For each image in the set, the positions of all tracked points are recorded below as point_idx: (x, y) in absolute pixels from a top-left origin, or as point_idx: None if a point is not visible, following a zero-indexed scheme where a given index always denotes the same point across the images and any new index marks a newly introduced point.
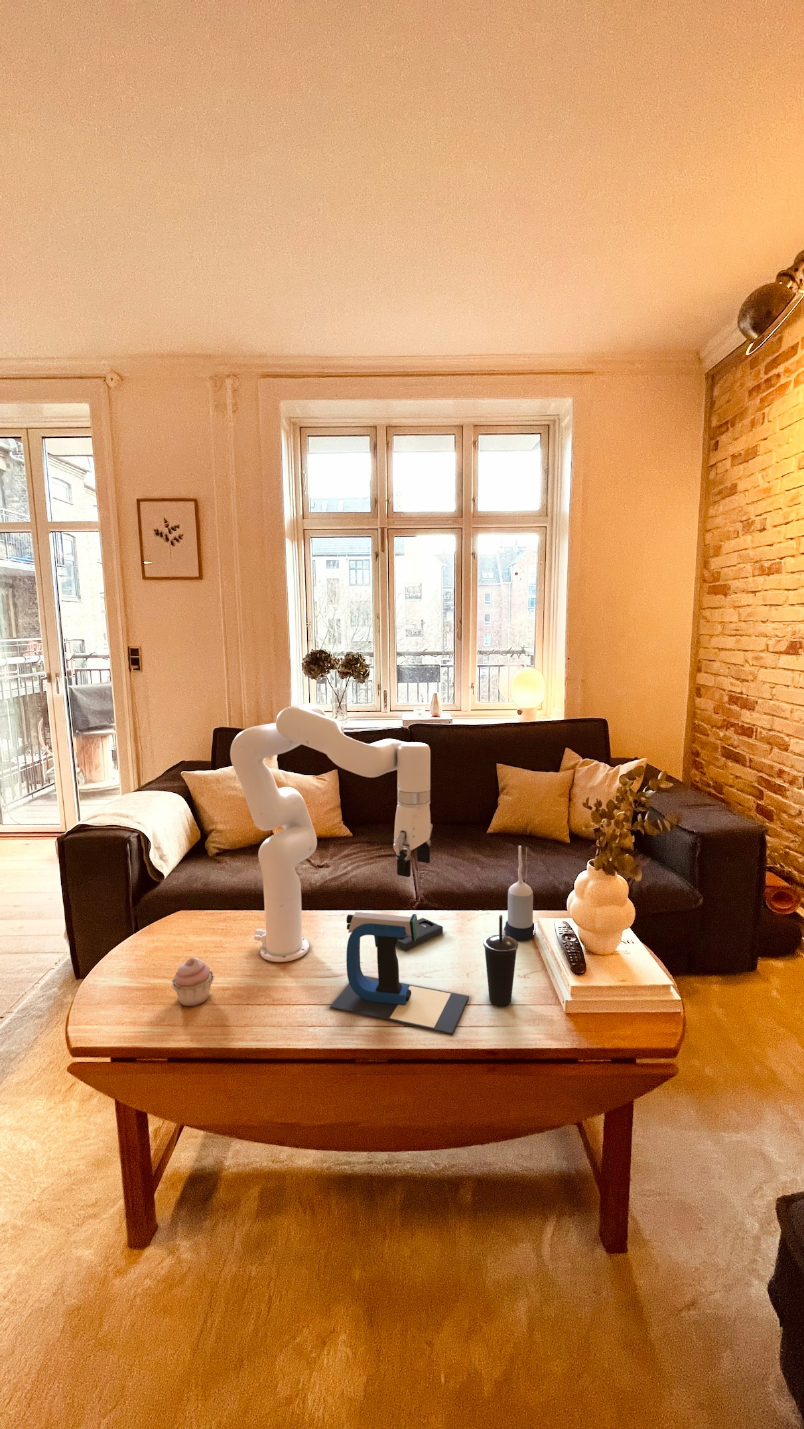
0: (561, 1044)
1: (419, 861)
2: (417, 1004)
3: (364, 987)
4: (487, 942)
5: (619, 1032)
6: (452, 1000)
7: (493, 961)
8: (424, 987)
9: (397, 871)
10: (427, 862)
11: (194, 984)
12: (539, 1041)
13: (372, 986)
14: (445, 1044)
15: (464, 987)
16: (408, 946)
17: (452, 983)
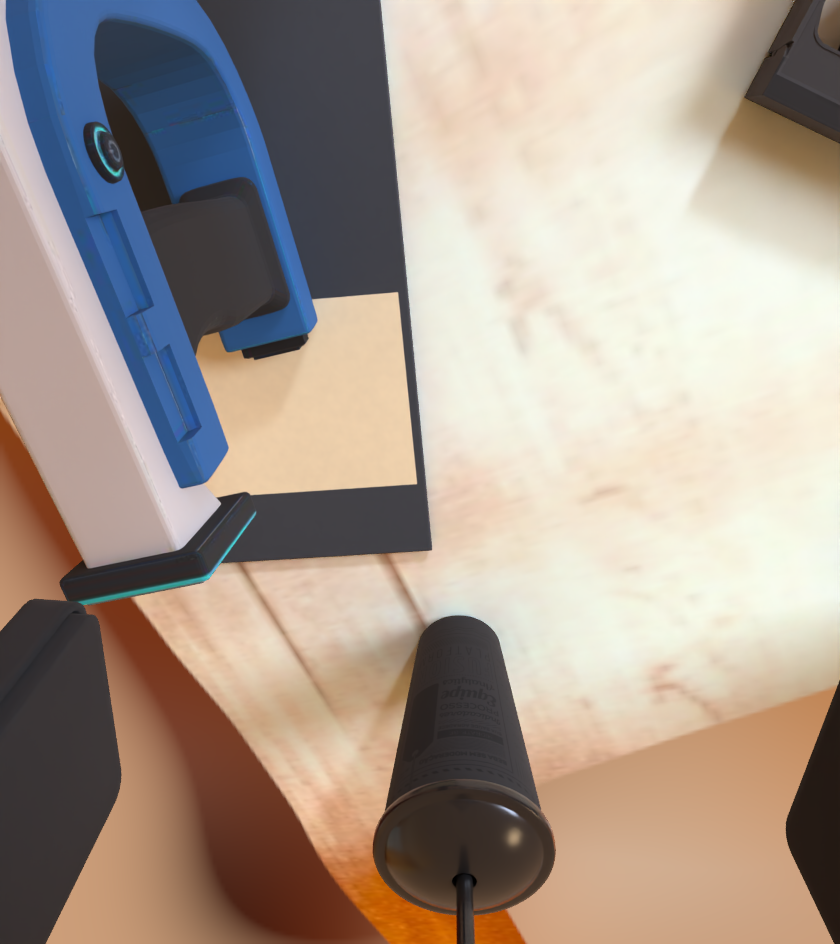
0: (314, 829)
1: (834, 699)
2: (275, 385)
3: (157, 126)
4: (425, 817)
5: (441, 932)
6: (371, 505)
7: (389, 788)
8: (412, 362)
9: (6, 634)
10: (787, 835)
11: None
12: (297, 783)
13: (206, 156)
14: None
15: (497, 510)
16: (777, 108)
17: (508, 456)
